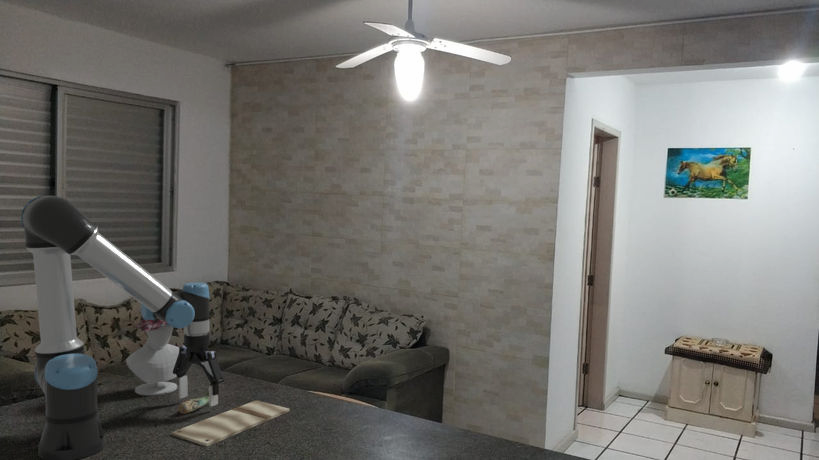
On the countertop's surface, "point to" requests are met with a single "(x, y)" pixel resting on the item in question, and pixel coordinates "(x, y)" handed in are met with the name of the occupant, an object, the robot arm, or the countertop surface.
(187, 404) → the figurine
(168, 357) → the bust with hat
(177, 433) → the board
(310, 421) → the countertop surface
